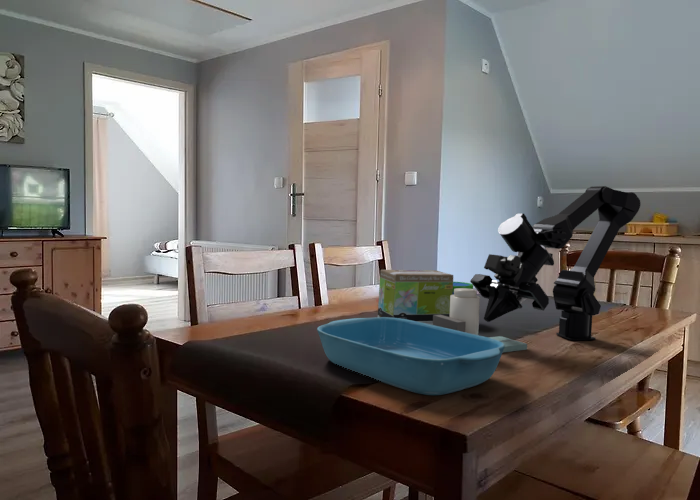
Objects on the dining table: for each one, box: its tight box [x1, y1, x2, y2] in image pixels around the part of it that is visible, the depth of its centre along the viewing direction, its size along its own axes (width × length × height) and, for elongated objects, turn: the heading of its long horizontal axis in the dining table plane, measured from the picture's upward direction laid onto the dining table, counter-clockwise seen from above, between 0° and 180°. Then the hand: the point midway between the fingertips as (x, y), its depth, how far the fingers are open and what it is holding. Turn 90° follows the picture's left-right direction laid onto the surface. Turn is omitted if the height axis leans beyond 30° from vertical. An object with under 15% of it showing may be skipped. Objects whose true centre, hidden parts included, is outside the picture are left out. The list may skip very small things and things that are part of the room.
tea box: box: [377, 269, 454, 325], centre depth 133 cm, size 15×10×15 cm
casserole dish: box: [316, 316, 505, 396], centre depth 101 cm, size 37×22×7 cm, turn 40°
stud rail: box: [433, 315, 528, 354], centre depth 119 cm, size 19×8×7 cm, turn 119°
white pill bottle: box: [450, 288, 481, 335], centre depth 116 cm, size 6×6×11 cm
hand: (486, 320), depth 119 cm, fingers closed
